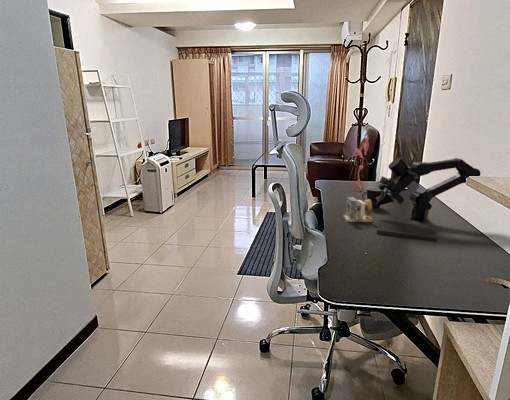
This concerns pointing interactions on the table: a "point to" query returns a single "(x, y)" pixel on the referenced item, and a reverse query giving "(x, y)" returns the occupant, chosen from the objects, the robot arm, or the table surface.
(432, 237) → the hardcover book
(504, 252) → the table surface
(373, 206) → the coffee mug
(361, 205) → the spacer
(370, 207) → the tan egg-shaped dome
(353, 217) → the base
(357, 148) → the figurine
